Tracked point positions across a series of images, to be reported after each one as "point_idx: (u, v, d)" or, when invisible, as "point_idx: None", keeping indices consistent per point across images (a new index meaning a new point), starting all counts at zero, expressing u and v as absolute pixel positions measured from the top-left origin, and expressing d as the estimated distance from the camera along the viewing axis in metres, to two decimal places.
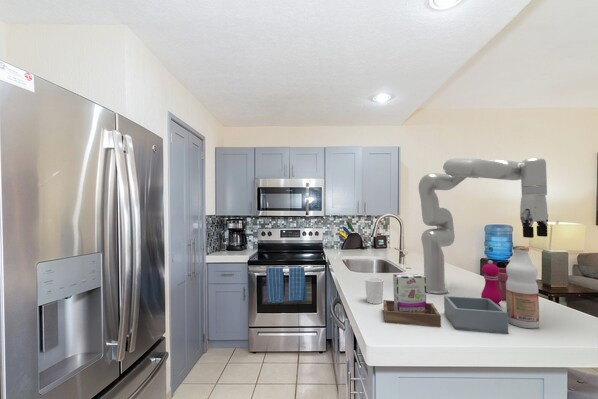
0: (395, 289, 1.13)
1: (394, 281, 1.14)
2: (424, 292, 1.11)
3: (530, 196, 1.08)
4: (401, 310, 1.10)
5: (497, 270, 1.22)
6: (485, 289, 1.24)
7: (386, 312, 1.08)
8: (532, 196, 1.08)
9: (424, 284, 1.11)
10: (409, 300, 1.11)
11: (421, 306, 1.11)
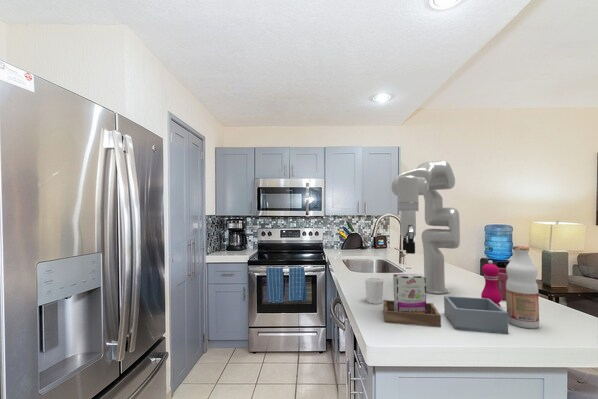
0: (395, 289, 1.13)
1: (394, 281, 1.14)
2: (424, 292, 1.11)
3: (412, 212, 1.10)
4: (401, 310, 1.10)
5: (497, 270, 1.22)
6: (485, 289, 1.24)
7: (386, 312, 1.08)
8: (413, 212, 1.10)
9: (424, 284, 1.11)
10: (409, 300, 1.11)
11: (421, 306, 1.11)
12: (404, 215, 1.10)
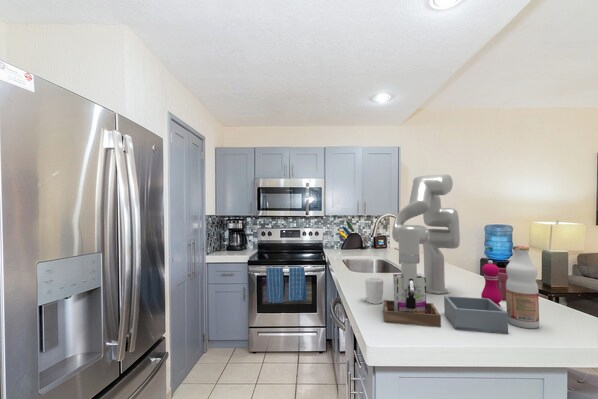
0: (395, 289, 1.13)
1: (394, 281, 1.14)
2: (424, 292, 1.11)
3: (413, 265, 1.09)
4: (401, 310, 1.10)
5: (497, 270, 1.22)
6: (485, 289, 1.24)
7: (386, 312, 1.08)
8: (414, 265, 1.09)
9: (424, 284, 1.11)
10: None
11: (421, 306, 1.11)
12: (405, 268, 1.09)
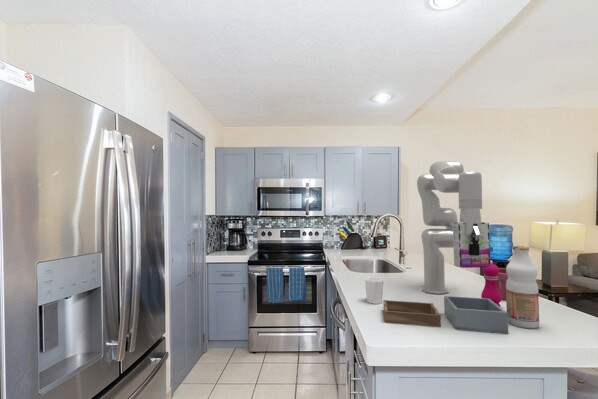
0: (456, 237, 1.08)
1: (454, 229, 1.10)
2: (487, 239, 1.06)
3: (477, 210, 1.05)
4: (463, 257, 1.06)
5: (497, 270, 1.22)
6: (485, 289, 1.24)
7: (386, 312, 1.08)
8: (478, 210, 1.05)
9: (487, 230, 1.07)
10: None
11: (484, 253, 1.06)
12: (468, 213, 1.05)
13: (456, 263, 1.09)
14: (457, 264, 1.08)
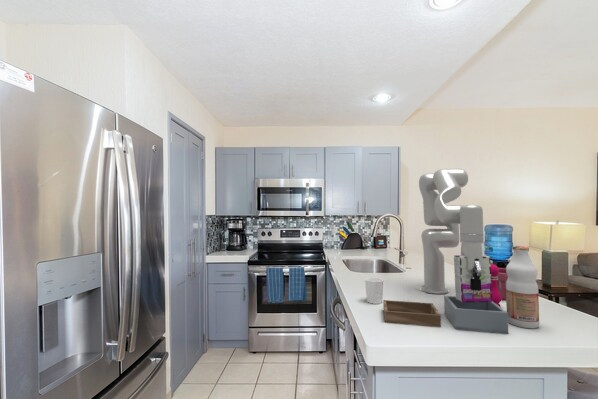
0: (457, 270, 1.08)
1: (455, 262, 1.09)
2: (489, 273, 1.06)
3: (478, 245, 1.04)
4: (465, 292, 1.05)
5: (497, 270, 1.22)
6: None
7: (386, 312, 1.08)
8: (480, 245, 1.04)
9: (489, 265, 1.06)
10: None
11: (486, 288, 1.06)
12: (470, 248, 1.05)
13: (458, 297, 1.08)
14: (459, 298, 1.07)
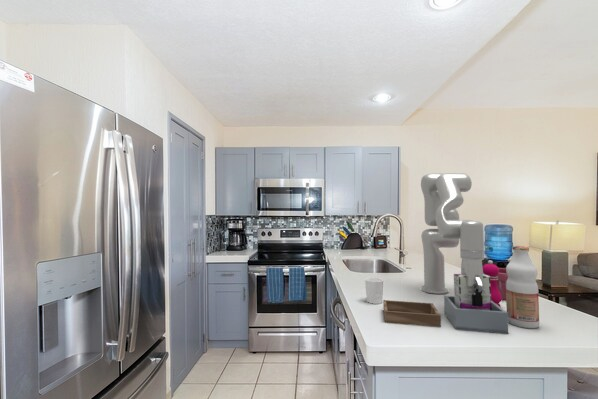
0: (457, 289, 1.08)
1: (455, 281, 1.10)
2: (489, 293, 1.06)
3: (478, 262, 1.04)
4: None
5: (497, 270, 1.22)
6: None
7: (386, 312, 1.08)
8: (480, 262, 1.04)
9: (489, 284, 1.06)
10: None
11: (486, 307, 1.06)
12: (470, 264, 1.04)
13: None
14: None
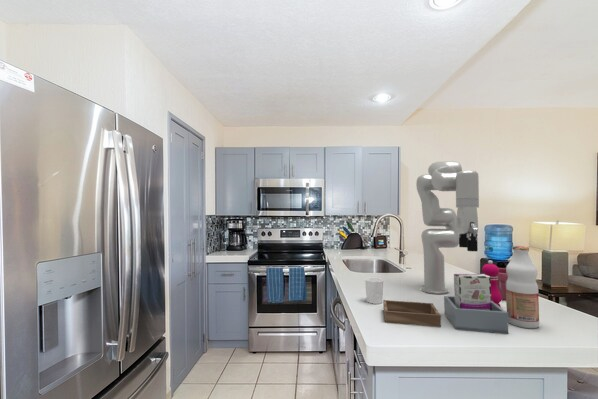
0: (457, 289, 1.08)
1: (455, 281, 1.10)
2: (489, 293, 1.06)
3: (473, 209, 1.06)
4: None
5: (497, 270, 1.22)
6: None
7: (386, 312, 1.08)
8: (475, 209, 1.06)
9: (489, 285, 1.06)
10: (472, 301, 1.06)
11: (486, 307, 1.06)
12: (465, 212, 1.07)
13: None
14: None
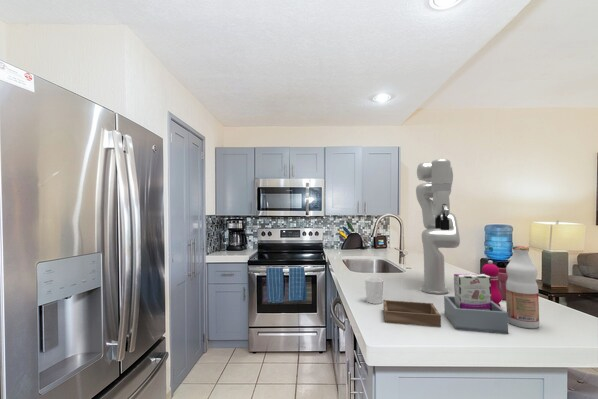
0: (457, 289, 1.08)
1: (455, 281, 1.10)
2: (489, 293, 1.06)
3: (446, 192, 1.20)
4: None
5: (497, 270, 1.22)
6: None
7: (386, 312, 1.08)
8: (447, 192, 1.20)
9: (489, 285, 1.06)
10: (472, 301, 1.06)
11: (486, 307, 1.06)
12: (438, 195, 1.20)
13: None
14: None
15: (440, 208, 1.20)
